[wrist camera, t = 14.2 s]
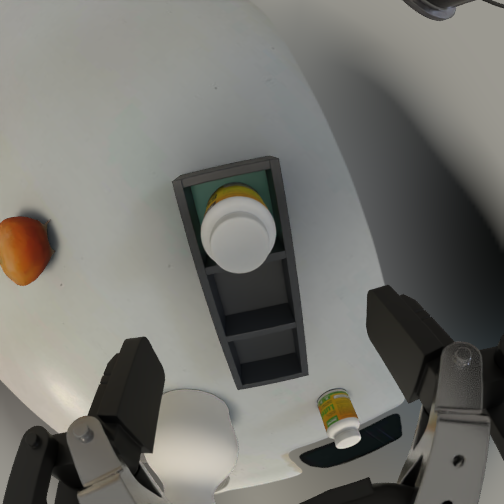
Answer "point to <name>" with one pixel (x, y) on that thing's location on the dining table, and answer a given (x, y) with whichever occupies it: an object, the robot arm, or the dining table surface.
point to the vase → (193, 446)
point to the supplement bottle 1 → (237, 228)
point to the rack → (249, 279)
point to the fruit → (24, 249)
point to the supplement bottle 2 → (339, 418)
